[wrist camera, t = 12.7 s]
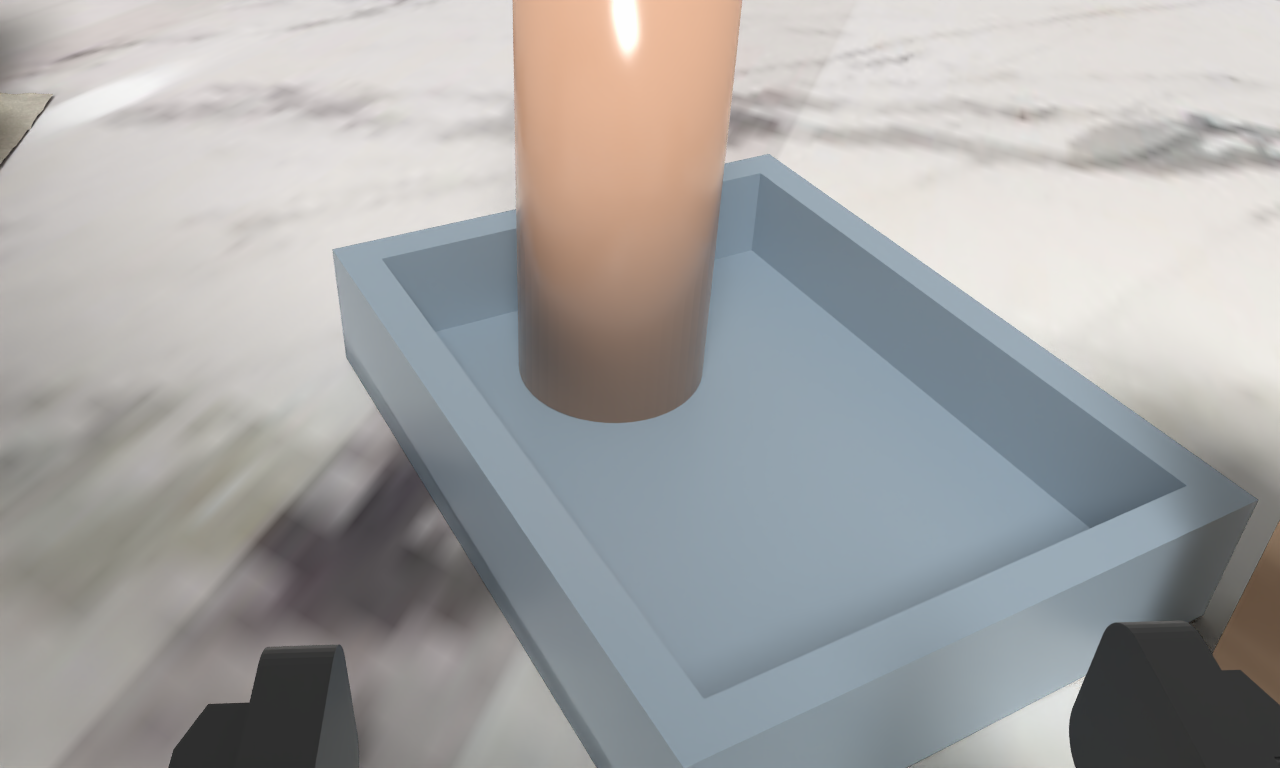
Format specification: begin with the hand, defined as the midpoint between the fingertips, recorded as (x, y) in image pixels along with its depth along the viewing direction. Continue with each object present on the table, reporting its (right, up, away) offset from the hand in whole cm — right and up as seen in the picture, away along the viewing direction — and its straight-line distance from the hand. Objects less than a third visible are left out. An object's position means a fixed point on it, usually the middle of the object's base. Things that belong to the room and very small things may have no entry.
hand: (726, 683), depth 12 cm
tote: (+1, +1, +17) cm, 17 cm away
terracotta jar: (-2, +4, +19) cm, 20 cm away
